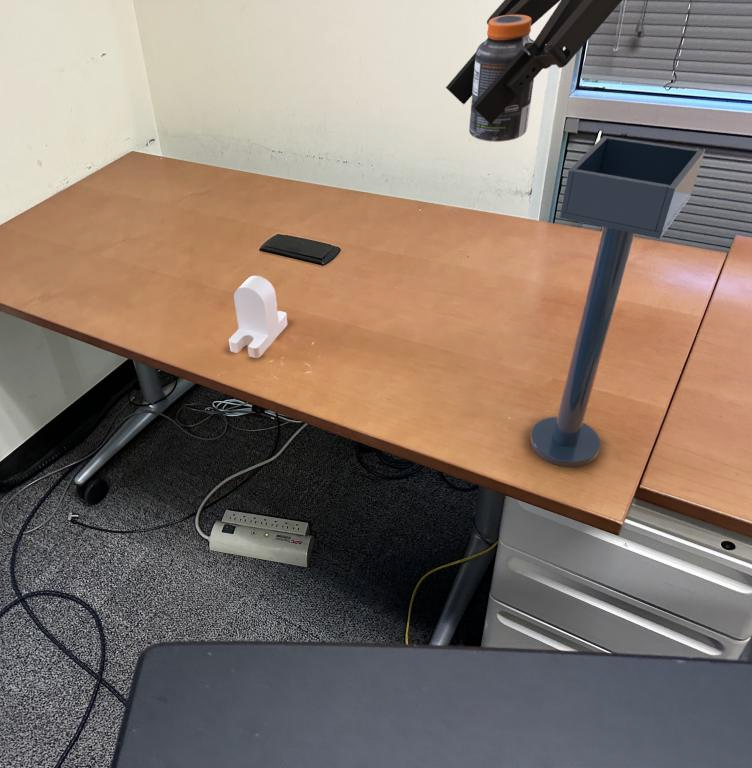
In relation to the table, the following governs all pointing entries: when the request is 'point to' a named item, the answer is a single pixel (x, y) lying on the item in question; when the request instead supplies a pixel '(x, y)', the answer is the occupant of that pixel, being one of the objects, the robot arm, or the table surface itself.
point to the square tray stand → (610, 263)
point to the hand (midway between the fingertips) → (467, 105)
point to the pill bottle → (489, 63)
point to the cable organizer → (256, 317)
